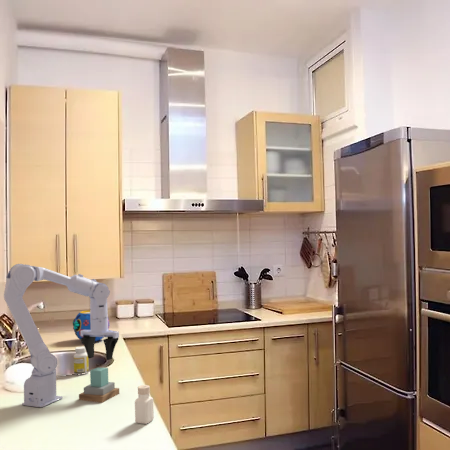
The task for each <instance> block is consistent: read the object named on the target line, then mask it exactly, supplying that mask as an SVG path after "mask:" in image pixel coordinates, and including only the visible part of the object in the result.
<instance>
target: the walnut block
mask: <svg viewBox="0 0 450 450" xmlns="http://www.w3.org/2000/svg"><path fill="white" fill-rule="evenodd" d="M118 395H120V388H119V387H115V389H113V390H112V391H110V392H108V393H107V394H105V395H91V394H84V391H83V392H80V393H79V394H78V400H79V401H87V402H93V403H94V402H95V403H104V402H106V401H109V400H111V399H112V398H115V397H116V396H118Z"/></svg>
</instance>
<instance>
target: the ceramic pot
mask: <svg viewBox="0 0 450 450" xmlns="http://www.w3.org/2000/svg"><path fill="white" fill-rule="evenodd" d="M72 326H73V327H72V329H73V331H74V334H75V336H76V337H77V338H78V339H79V340H80V341H81V338H83V336H81V332H80V331H81V330H91V323H90V309H89V310H82V311H79V312H78V313H77V315H76V316H75V318H74V319H73V320H72ZM108 329H109V330H110V319H109V318H108ZM102 339H105V337H96V338H95V342H99V341H101V340H102Z"/></svg>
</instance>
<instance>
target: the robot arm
mask: <svg viewBox="0 0 450 450" xmlns="http://www.w3.org/2000/svg"><path fill="white" fill-rule="evenodd" d="M5 277H6V278H5V285H4V286H5V287H4V291H3V292H4V293H3V299H4V301H5V304H6V305H7V307H8V310H9V311H10V314H11V316H12V318H13V320H14V322H15V324H16V325H17V328H18V330H19V332H20V333H21V336H22V338H23V340H24V343H25V345H26V346H27V349H28V350H27V351H28V353H29V356H30V364H31V366H32V367H33V368H32V370H31V375H30V377H28V378H27V379H26V380H25V381H24V382H23V402H22V403H21V404H22V406H28V407H37V408H44V407H46V406H48V405H51V404H52V403H53V404H54V403H55V402H56V401H59V400H62V399H63V396H62V395H57V368H58V358H57V357H56V356H55V355H54V354H53V353H51V351H50V349H49V347H48V346H47V344H46V343H45V342H44V340H43V338H42V335H41V333H40V332H39V329H38V327H37V325H36V323H35V322H34V319H33V317H32V315H31V313H30V311H29V308H28V306H27V304H26V302H25V300H24V298H23V297H24V295H25V293H26V290H27V289H28V287H30V285H31V284H33V283H34V281H35V282H39V281H43V280H45V281H49V282H52V283H55V284H58V285H63V286H65V287H66V288H67V290H68V292H70V293H74V294H78V295H80V296H83V297H88V298H89V310H90V323H91V330H81V331H80V332H81V336H83V338H81V340H80V341H81V343H82V345H83V347H85V349H86V353H87V355H88V359H92V358H94V357H95V343H96V341H95V338H96V337H104V338H103V343H104V348H105V359H106V360H107V361H109V360H112V359H113V355H114V351H115V348H116V346H117V343H118V341H119V338H120V332H119V331H116V330H111V329H110V328H109V329H108V319H109V315H108V313H109V312H108V310H109V309H108V297H109V296H110V293H111V290H109V286H108V285H107V284H106V283H103V282H98V281H97V279H94V278H92V279H90V278H88V277H84V275H83V274H81V273H78V274H73V275H72V276H69V275H66V274H63V273H60V272H57V271H55V270H52V269H48V268H46V267H42V266H36V265H30V264H24V263H16V264H14V265H12V267H10V269H9V271H8V272H7V274H6V276H5Z"/></svg>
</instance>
